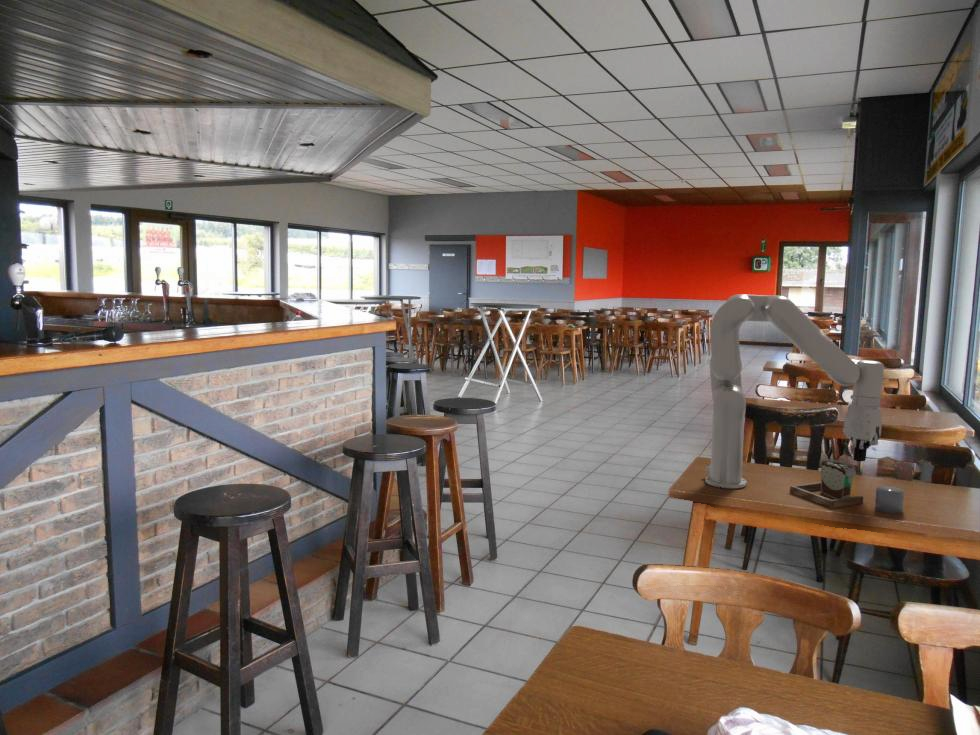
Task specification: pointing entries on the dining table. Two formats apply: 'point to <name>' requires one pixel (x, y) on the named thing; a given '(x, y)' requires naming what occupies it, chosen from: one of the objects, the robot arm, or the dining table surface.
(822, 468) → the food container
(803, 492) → the frame
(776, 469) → the dining table surface
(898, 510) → the grey glossy rounded part
